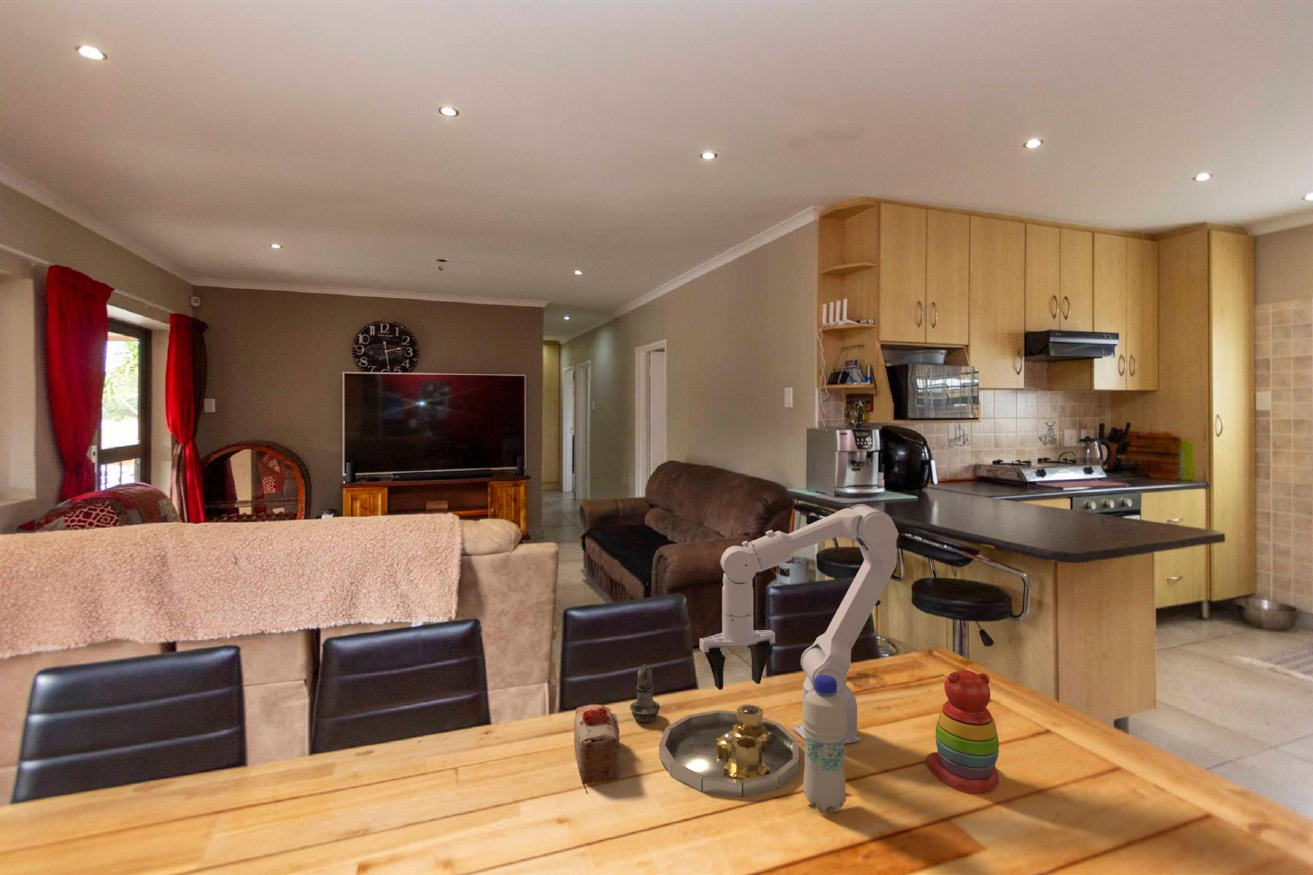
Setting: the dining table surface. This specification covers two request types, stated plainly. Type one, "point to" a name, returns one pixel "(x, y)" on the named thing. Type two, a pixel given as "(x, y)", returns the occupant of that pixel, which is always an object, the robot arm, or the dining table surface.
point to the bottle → (824, 745)
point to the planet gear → (745, 759)
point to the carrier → (727, 751)
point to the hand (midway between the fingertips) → (737, 684)
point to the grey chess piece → (644, 698)
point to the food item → (597, 744)
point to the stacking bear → (966, 736)
